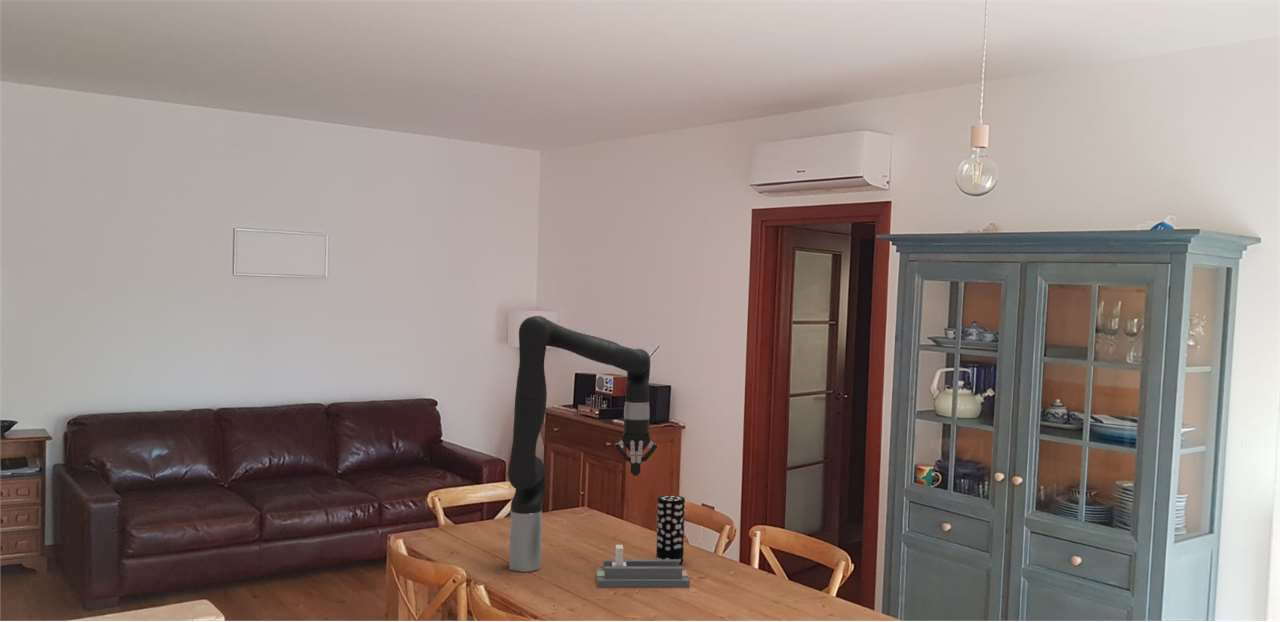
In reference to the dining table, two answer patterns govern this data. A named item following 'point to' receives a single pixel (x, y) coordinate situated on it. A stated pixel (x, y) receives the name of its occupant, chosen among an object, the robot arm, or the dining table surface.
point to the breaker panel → (642, 574)
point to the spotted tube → (670, 527)
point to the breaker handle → (619, 556)
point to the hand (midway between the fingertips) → (635, 475)
